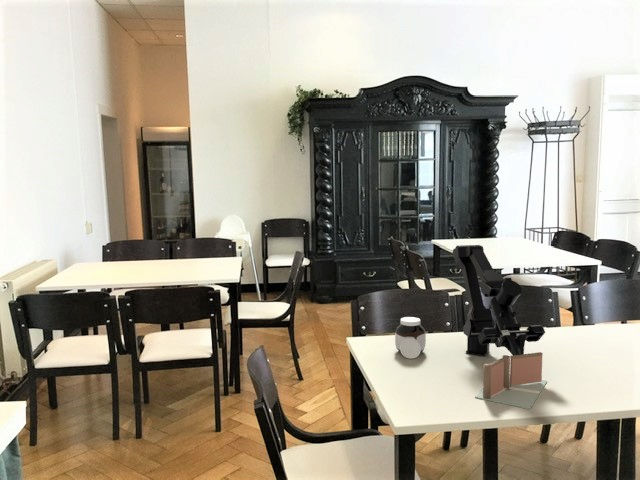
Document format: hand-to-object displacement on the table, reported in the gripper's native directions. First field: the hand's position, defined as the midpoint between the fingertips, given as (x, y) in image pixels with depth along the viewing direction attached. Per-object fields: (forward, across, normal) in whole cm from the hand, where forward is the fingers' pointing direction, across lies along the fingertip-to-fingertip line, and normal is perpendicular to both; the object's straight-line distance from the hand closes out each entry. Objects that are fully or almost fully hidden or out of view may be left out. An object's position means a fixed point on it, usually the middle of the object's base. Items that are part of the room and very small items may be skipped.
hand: (520, 360), depth 153 cm
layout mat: (+7, +4, -4) cm, 9 cm away
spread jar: (-18, +23, -28) cm, 40 cm away
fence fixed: (+8, +9, -2) cm, 12 cm away
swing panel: (+5, 0, -4) cm, 7 cm away
